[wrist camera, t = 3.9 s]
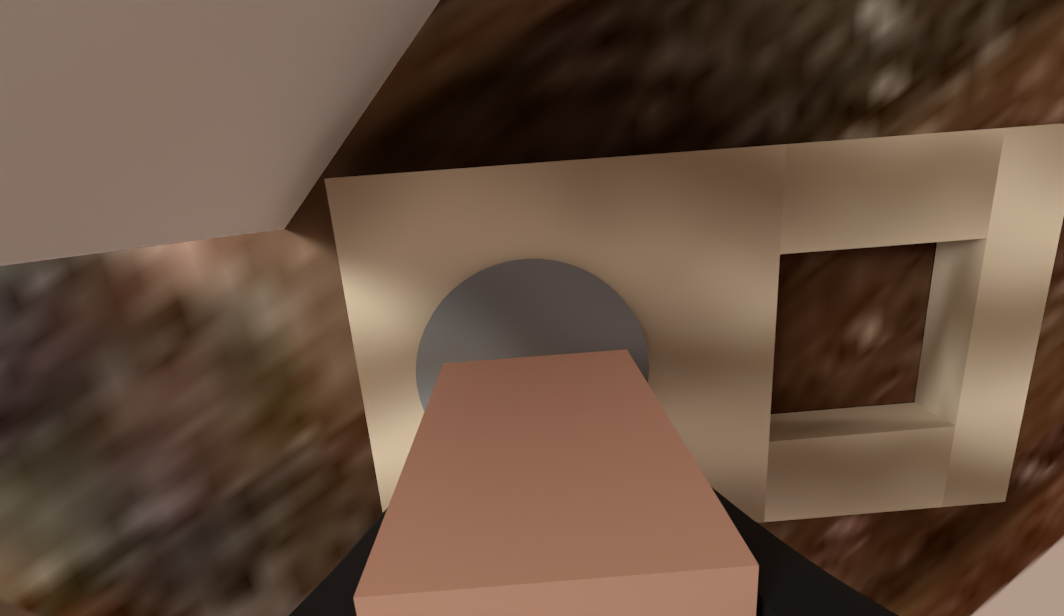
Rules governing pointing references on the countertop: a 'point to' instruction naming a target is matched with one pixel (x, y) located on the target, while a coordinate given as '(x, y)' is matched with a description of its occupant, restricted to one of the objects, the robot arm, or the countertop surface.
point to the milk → (178, 114)
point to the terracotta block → (553, 502)
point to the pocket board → (720, 299)
